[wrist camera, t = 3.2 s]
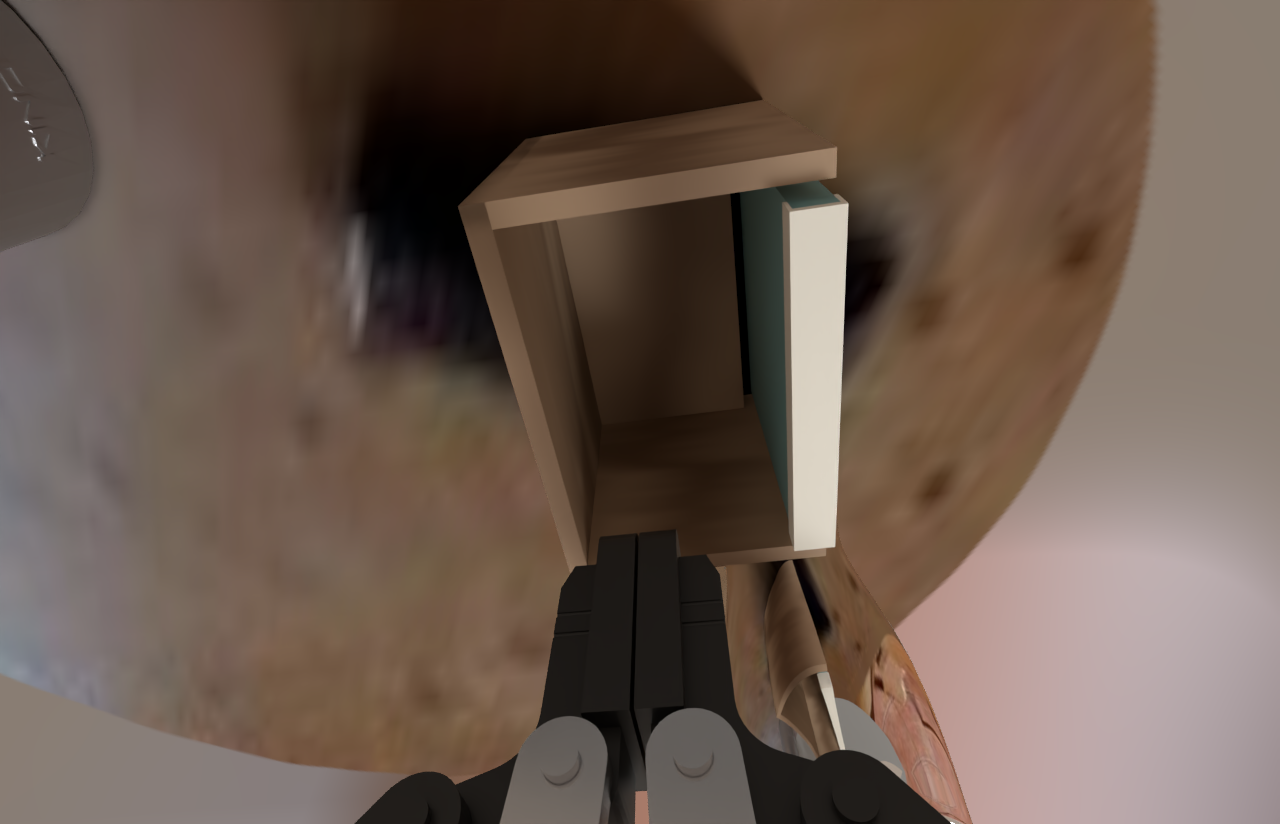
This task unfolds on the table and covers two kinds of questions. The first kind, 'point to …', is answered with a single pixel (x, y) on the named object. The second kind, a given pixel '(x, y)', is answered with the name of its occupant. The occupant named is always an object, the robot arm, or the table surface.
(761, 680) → the beer glass
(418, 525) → the table surface
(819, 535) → the teal panel
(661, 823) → the robot arm
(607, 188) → the crate
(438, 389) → the table surface
